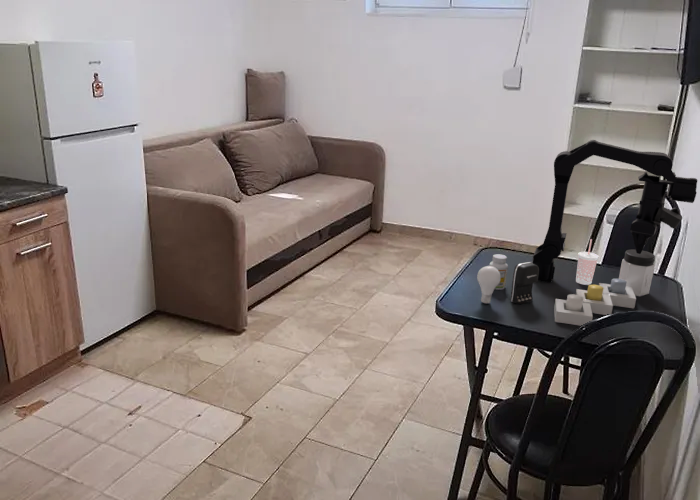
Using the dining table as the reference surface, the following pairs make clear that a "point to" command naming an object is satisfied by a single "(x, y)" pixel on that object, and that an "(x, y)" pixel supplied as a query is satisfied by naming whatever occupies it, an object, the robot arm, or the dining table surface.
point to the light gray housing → (620, 296)
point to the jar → (637, 271)
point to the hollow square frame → (597, 303)
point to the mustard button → (594, 292)
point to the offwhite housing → (572, 313)
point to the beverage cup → (586, 266)
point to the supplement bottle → (500, 269)
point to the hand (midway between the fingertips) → (641, 249)
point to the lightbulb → (488, 282)
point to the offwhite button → (574, 302)
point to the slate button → (618, 286)
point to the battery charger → (523, 282)
